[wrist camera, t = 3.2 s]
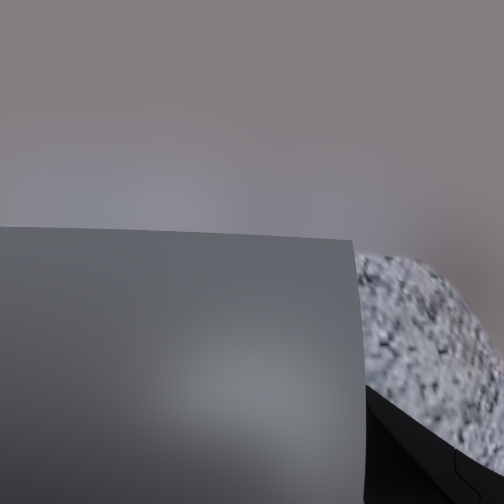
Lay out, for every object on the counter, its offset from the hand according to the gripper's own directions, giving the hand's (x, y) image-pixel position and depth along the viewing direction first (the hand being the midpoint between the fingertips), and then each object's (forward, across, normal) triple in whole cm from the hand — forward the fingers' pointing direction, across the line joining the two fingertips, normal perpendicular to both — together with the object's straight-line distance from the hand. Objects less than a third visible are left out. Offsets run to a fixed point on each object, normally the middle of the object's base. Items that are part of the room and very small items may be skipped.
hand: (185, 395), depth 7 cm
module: (+4, 0, +6) cm, 7 cm away
